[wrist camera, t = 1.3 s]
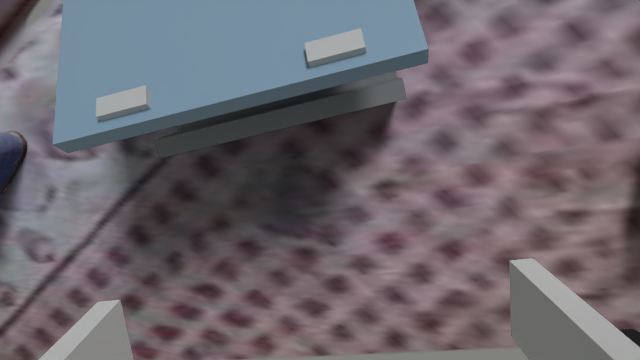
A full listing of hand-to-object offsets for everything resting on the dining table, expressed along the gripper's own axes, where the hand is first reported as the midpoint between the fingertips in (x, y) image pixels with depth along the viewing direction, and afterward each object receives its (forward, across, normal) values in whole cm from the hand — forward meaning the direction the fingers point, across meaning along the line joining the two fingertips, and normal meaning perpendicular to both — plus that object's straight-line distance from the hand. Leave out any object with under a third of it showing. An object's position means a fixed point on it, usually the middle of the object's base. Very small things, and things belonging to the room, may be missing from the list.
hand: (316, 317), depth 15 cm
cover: (+16, -4, +13) cm, 21 cm away
